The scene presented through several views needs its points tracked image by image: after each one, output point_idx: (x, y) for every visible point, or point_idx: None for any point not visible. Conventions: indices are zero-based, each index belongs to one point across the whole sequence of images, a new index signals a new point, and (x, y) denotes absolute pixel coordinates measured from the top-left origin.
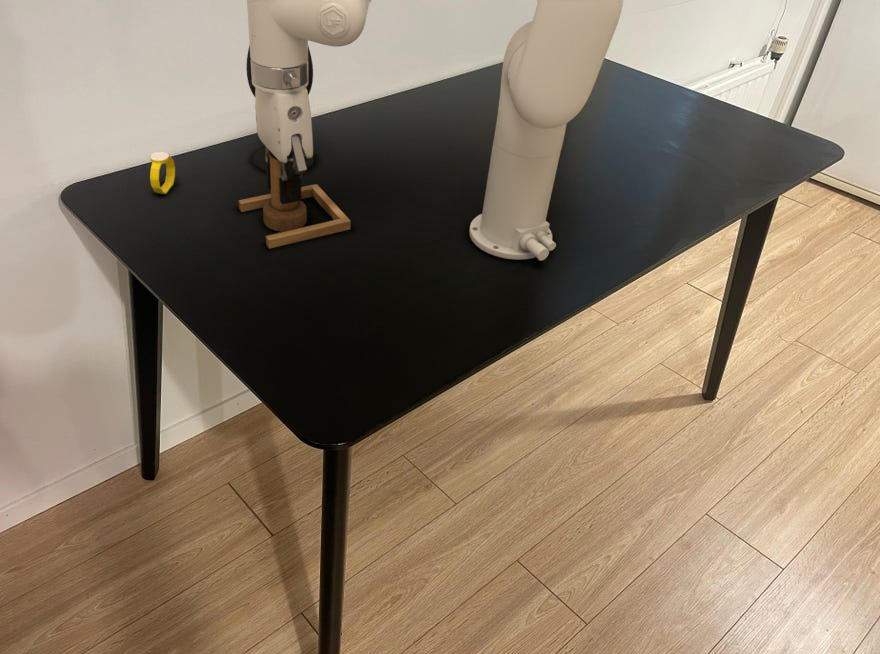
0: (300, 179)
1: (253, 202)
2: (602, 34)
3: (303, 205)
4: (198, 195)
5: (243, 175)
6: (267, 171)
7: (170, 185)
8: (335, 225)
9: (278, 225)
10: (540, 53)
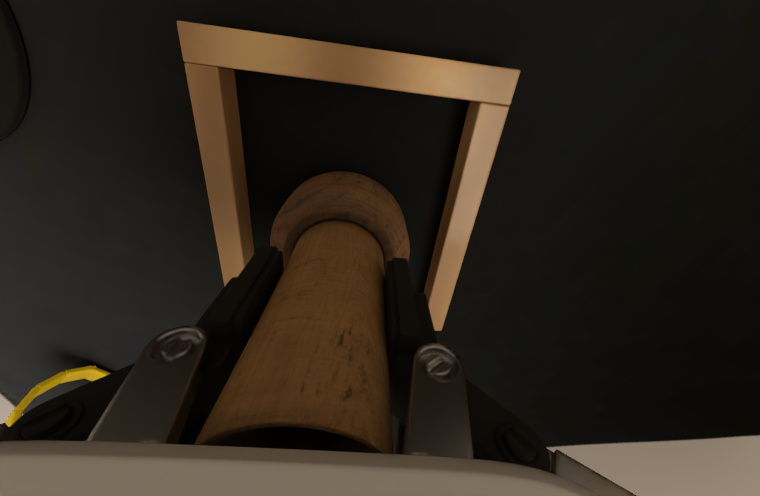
0: (417, 320)
1: None
2: None
3: (366, 204)
4: (150, 339)
5: (34, 212)
6: None
7: (100, 374)
8: (498, 142)
9: None
10: None
